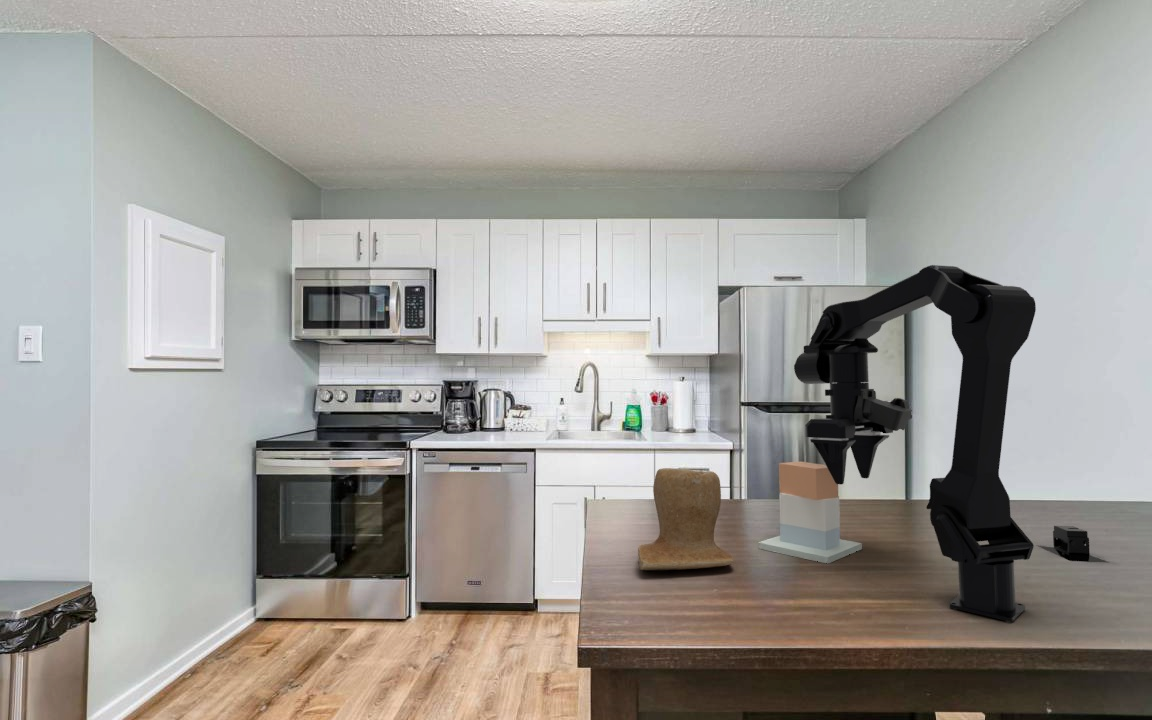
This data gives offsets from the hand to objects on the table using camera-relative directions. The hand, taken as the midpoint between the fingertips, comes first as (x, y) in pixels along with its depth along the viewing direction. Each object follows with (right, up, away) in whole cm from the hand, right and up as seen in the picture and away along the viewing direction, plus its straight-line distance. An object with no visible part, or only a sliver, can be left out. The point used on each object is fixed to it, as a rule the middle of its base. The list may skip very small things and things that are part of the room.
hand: (852, 481), depth 96 cm
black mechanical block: (+36, -13, +1) cm, 38 cm away
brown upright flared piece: (-28, -13, -3) cm, 31 cm away
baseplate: (-5, -12, +5) cm, 14 cm away
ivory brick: (-5, -8, +5) cm, 11 cm away
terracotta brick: (-5, -3, +6) cm, 8 cm away
